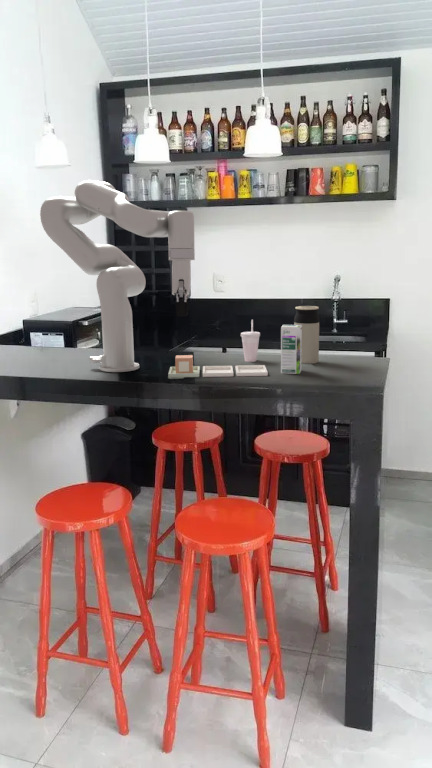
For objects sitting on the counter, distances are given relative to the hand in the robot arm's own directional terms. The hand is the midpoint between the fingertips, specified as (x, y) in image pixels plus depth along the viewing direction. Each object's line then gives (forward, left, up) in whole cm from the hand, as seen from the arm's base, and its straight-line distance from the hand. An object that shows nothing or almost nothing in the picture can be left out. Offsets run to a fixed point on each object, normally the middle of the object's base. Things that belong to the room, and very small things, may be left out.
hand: (182, 314), depth 191 cm
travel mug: (+39, +17, -18) cm, 46 cm away
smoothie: (+21, +19, -18) cm, 34 cm away
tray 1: (0, 0, -18) cm, 18 cm away
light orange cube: (0, 0, -18) cm, 18 cm away
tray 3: (+20, 0, -18) cm, 27 cm away
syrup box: (+32, 0, -18) cm, 37 cm away
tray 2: (+10, 0, -18) cm, 21 cm away
